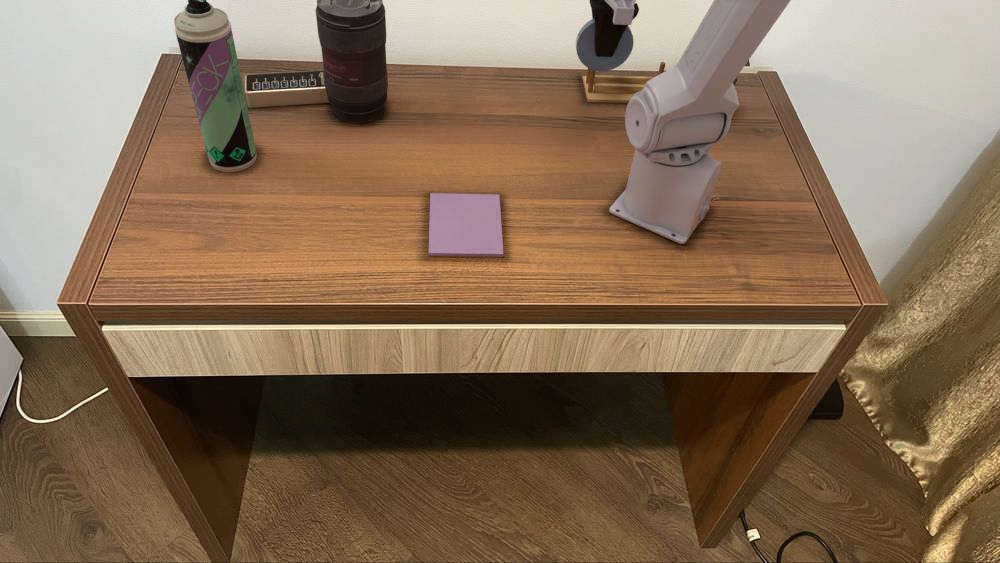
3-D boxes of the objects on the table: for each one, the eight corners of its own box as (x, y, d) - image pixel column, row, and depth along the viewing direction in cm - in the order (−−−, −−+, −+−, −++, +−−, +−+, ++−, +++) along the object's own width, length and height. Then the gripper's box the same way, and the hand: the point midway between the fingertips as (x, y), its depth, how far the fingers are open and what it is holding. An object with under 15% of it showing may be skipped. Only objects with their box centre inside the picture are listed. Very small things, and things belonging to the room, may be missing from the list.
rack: (657, 81, 108) (664, 56, 106) (666, 104, 104) (672, 78, 101) (582, 78, 108) (586, 53, 105) (587, 102, 103) (591, 76, 100)
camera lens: (323, 126, 96) (309, 14, 85) (331, 91, 101) (319, -18, 90) (387, 128, 96) (382, 17, 85) (391, 93, 102) (387, -15, 91)
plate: (626, 68, 96) (637, 16, 91) (627, 72, 95) (638, 20, 90) (572, 66, 95) (579, 13, 90) (572, 70, 95) (580, 17, 90)
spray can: (211, 145, 91) (170, -16, 77) (258, 143, 92) (226, -17, 78) (207, 173, 88) (163, 9, 73) (256, 170, 89) (222, 8, 74)
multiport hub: (247, 89, 100) (244, 74, 99) (331, 84, 102) (330, 69, 101) (247, 108, 97) (244, 92, 96) (334, 102, 99) (332, 87, 98)
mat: (430, 196, 87) (430, 192, 87) (499, 197, 88) (499, 194, 88) (428, 256, 80) (428, 252, 80) (503, 257, 81) (503, 254, 81)
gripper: (671, -31, 79) (645, 84, 89) (646, -83, 89) (625, 25, 99) (604, -34, 78) (585, 82, 88) (587, -86, 89) (572, 23, 98)
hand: (603, 52), depth 93 cm, fingers closed on plate, 1 cm apart
